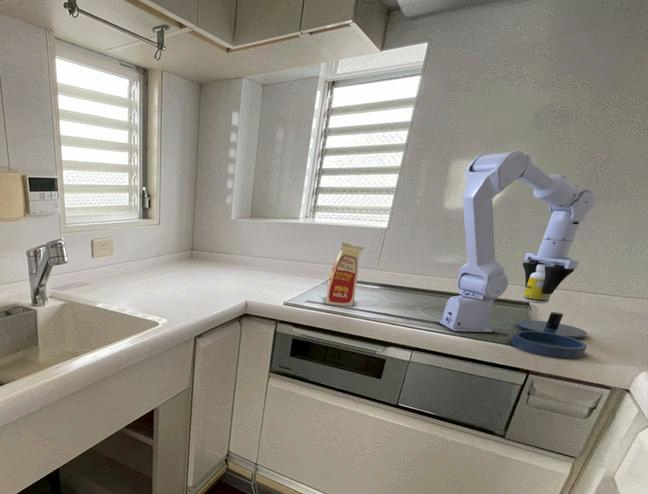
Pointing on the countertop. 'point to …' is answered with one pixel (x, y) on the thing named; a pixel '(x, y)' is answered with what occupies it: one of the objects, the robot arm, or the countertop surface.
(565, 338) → the pot
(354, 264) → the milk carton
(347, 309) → the countertop surface
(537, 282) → the supplement bottle
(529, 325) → the pot lid
